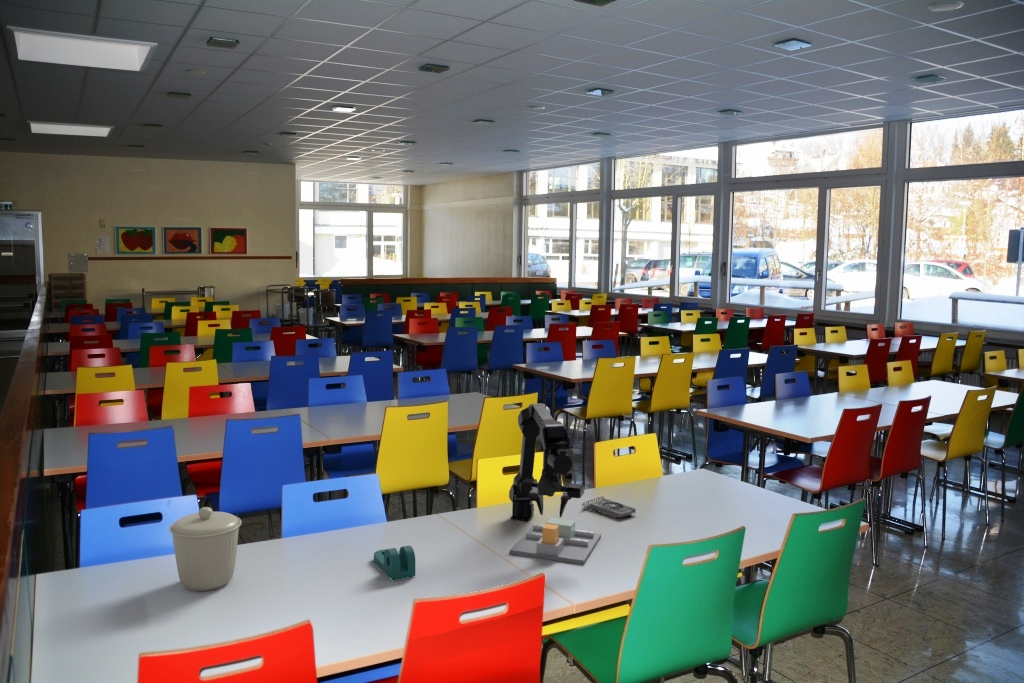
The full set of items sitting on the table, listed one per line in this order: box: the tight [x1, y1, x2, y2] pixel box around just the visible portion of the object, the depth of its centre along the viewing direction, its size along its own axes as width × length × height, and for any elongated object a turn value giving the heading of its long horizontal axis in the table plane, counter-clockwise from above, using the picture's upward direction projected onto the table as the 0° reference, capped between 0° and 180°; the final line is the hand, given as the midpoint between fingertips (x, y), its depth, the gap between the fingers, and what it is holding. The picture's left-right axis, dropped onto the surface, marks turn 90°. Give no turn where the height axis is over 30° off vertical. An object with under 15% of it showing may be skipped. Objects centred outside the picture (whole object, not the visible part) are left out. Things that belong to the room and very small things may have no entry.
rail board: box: [509, 523, 602, 565], centre depth 248 cm, size 23×24×4 cm
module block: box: [545, 517, 576, 538], centre depth 252 cm, size 8×5×5 cm, turn 71°
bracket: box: [373, 545, 416, 581], centre depth 228 cm, size 18×7×8 cm, turn 29°
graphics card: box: [581, 495, 636, 519], centre depth 281 cm, size 17×4×12 cm
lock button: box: [542, 523, 559, 545], centre depth 240 cm, size 4×4×5 cm
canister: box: [168, 506, 242, 592], centre depth 214 cm, size 18×18×21 cm
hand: (551, 515), depth 240 cm, fingers open, 6 cm apart
